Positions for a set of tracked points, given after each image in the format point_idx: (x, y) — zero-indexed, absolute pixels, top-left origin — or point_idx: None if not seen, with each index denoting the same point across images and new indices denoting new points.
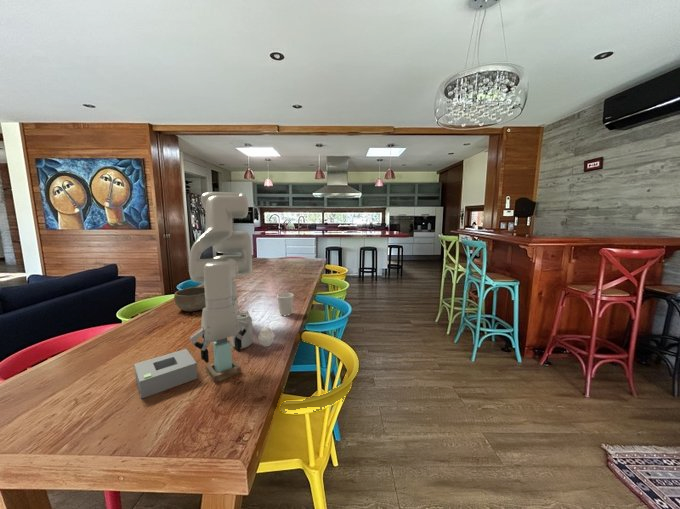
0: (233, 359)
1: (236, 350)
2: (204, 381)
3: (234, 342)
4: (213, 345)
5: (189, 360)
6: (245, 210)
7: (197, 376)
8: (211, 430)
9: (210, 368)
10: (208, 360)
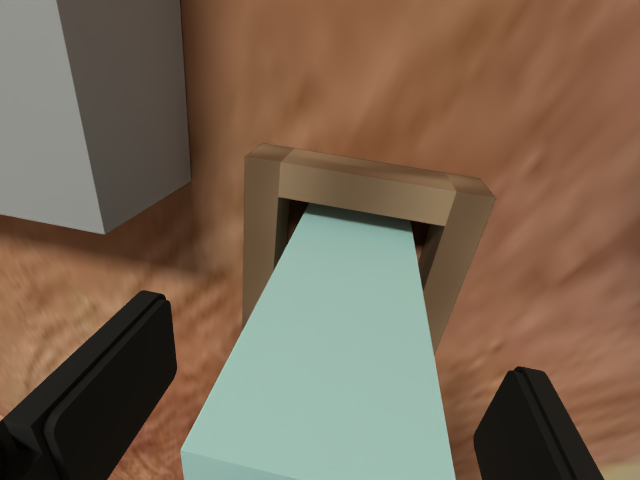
0: (473, 255)
1: (490, 404)
2: (217, 248)
3: (553, 457)
4: (210, 408)
5: (37, 121)
6: None
7: (184, 184)
8: (166, 476)
9: (260, 229)
10: (165, 386)
